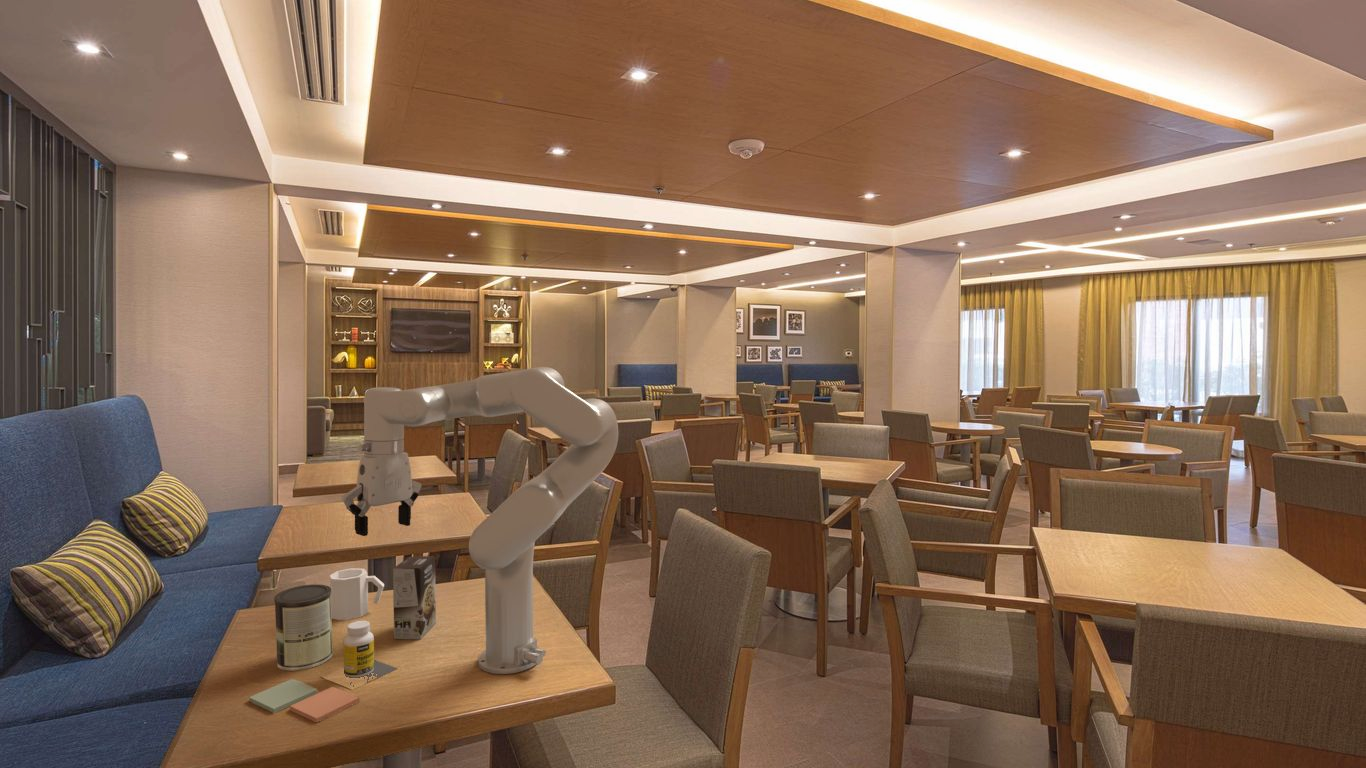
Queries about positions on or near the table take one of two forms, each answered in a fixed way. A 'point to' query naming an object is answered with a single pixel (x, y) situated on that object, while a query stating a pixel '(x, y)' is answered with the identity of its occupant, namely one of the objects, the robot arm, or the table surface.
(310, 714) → the pad terracotta
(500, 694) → the table surface
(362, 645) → the supplement bottle
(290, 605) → the coffee can
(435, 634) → the table surface
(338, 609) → the mug
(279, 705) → the pad sage
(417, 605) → the coffee box
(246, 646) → the table surface
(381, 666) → the tile
